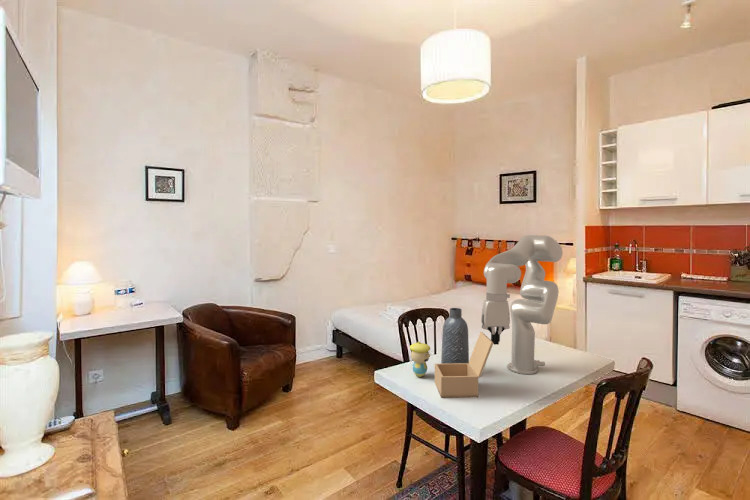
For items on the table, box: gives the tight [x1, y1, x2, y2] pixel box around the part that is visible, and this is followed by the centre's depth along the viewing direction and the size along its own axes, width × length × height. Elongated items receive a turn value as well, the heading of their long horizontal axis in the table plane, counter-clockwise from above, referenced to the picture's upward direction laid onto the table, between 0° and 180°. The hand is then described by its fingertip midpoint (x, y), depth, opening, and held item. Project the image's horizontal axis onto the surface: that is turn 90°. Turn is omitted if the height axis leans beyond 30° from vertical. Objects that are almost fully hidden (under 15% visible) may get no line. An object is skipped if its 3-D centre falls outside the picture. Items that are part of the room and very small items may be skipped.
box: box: [434, 363, 479, 399], centre depth 155 cm, size 14×14×8 cm
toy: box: [409, 341, 431, 377], centre depth 168 cm, size 8×9×15 cm
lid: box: [469, 331, 494, 378], centre depth 154 cm, size 14×14×1 cm
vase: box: [440, 307, 470, 364], centre depth 172 cm, size 12×12×28 cm
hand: (495, 343), depth 154 cm, fingers closed
